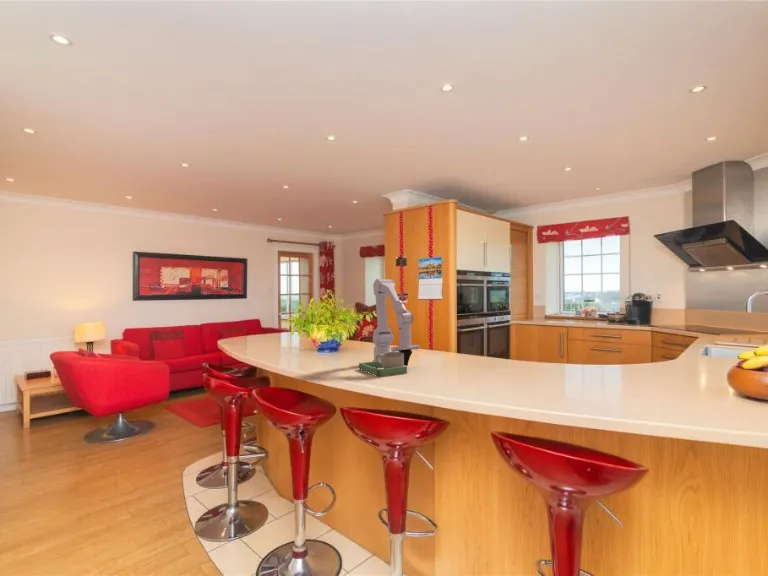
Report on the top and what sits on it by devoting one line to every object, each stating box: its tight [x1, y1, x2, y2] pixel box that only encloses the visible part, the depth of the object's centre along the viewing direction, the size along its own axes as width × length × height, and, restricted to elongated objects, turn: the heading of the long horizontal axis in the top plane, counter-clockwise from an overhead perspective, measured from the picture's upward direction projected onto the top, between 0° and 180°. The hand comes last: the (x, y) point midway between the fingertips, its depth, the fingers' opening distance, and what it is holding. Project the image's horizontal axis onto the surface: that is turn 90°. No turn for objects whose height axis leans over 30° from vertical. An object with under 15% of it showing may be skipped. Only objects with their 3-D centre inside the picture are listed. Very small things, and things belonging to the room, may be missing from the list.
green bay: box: [358, 361, 408, 377], centre depth 179 cm, size 20×15×3 cm
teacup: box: [376, 351, 405, 369], centre depth 181 cm, size 14×11×8 cm
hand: (405, 365), depth 185 cm, fingers closed
